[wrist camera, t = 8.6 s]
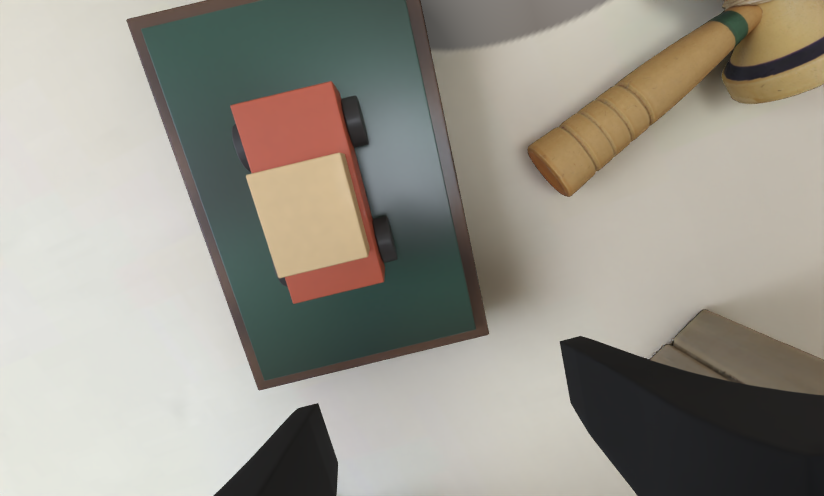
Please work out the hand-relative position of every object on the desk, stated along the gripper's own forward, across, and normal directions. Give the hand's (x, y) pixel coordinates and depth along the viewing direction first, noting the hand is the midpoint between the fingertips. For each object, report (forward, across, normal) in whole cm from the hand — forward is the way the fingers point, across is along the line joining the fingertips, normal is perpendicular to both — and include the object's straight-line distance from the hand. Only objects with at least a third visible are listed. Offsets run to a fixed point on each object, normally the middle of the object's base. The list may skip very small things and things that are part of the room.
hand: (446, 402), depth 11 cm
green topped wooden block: (+9, +3, -6) cm, 12 cm away
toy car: (+6, +3, -6) cm, 9 cm away
